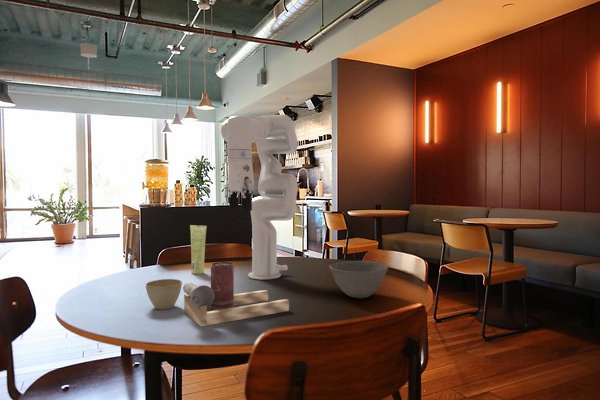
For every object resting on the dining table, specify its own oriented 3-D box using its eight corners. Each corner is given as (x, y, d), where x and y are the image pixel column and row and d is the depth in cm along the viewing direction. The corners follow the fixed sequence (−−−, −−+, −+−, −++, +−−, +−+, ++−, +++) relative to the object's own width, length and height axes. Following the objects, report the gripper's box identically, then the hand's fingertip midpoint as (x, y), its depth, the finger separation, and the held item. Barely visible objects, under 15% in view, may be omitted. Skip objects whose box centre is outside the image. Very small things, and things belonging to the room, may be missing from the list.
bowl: (352, 286, 145) (353, 258, 145) (399, 296, 132) (399, 265, 132) (316, 296, 132) (316, 265, 132) (364, 308, 119) (364, 273, 119)
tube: (203, 271, 171) (203, 224, 171) (206, 273, 166) (206, 225, 166) (190, 272, 169) (190, 225, 168) (192, 274, 164) (192, 226, 164)
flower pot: (151, 302, 124) (151, 279, 123) (185, 302, 124) (185, 278, 124) (141, 312, 114) (141, 286, 113) (178, 311, 114) (177, 286, 114)
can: (229, 318, 109) (229, 265, 108) (207, 316, 110) (207, 264, 110) (237, 311, 115) (237, 261, 114) (216, 310, 116) (216, 261, 116)
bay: (265, 299, 128) (266, 267, 128) (292, 312, 114) (292, 276, 114) (176, 313, 113) (176, 277, 113) (194, 330, 100) (194, 289, 99)
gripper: (263, 155, 125) (263, 211, 125) (239, 157, 139) (239, 208, 140) (240, 154, 121) (240, 212, 121) (218, 157, 135) (219, 208, 136)
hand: (240, 210), depth 131 cm, fingers open, 9 cm apart
